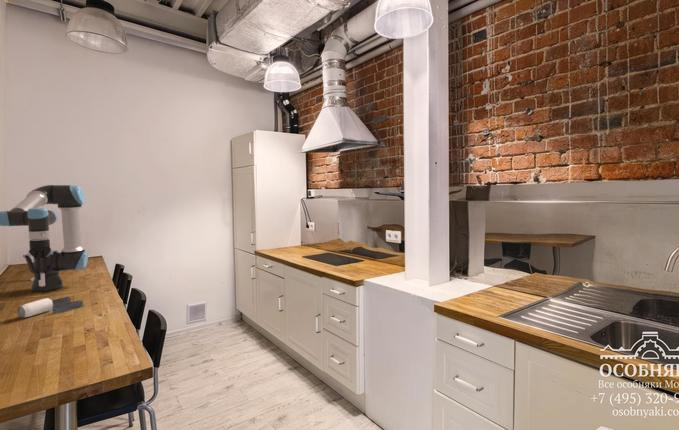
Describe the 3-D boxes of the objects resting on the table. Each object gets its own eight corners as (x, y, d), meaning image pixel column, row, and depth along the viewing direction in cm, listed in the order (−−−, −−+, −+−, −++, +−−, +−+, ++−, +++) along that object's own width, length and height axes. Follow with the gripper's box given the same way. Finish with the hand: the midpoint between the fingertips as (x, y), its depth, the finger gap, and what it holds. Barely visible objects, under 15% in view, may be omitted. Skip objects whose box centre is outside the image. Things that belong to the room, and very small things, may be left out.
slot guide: (40, 308, 172) (40, 303, 172) (67, 302, 183) (67, 296, 183) (55, 313, 166) (55, 307, 166) (82, 306, 177) (82, 301, 176)
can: (51, 296, 170) (23, 303, 158) (55, 308, 170) (27, 316, 158) (43, 299, 172) (14, 307, 160) (47, 311, 171) (19, 320, 160)
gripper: (26, 241, 157) (29, 290, 159) (59, 238, 169) (61, 283, 171) (18, 240, 161) (21, 288, 163) (51, 237, 172) (53, 281, 174)
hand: (42, 285), depth 167 cm, fingers closed
